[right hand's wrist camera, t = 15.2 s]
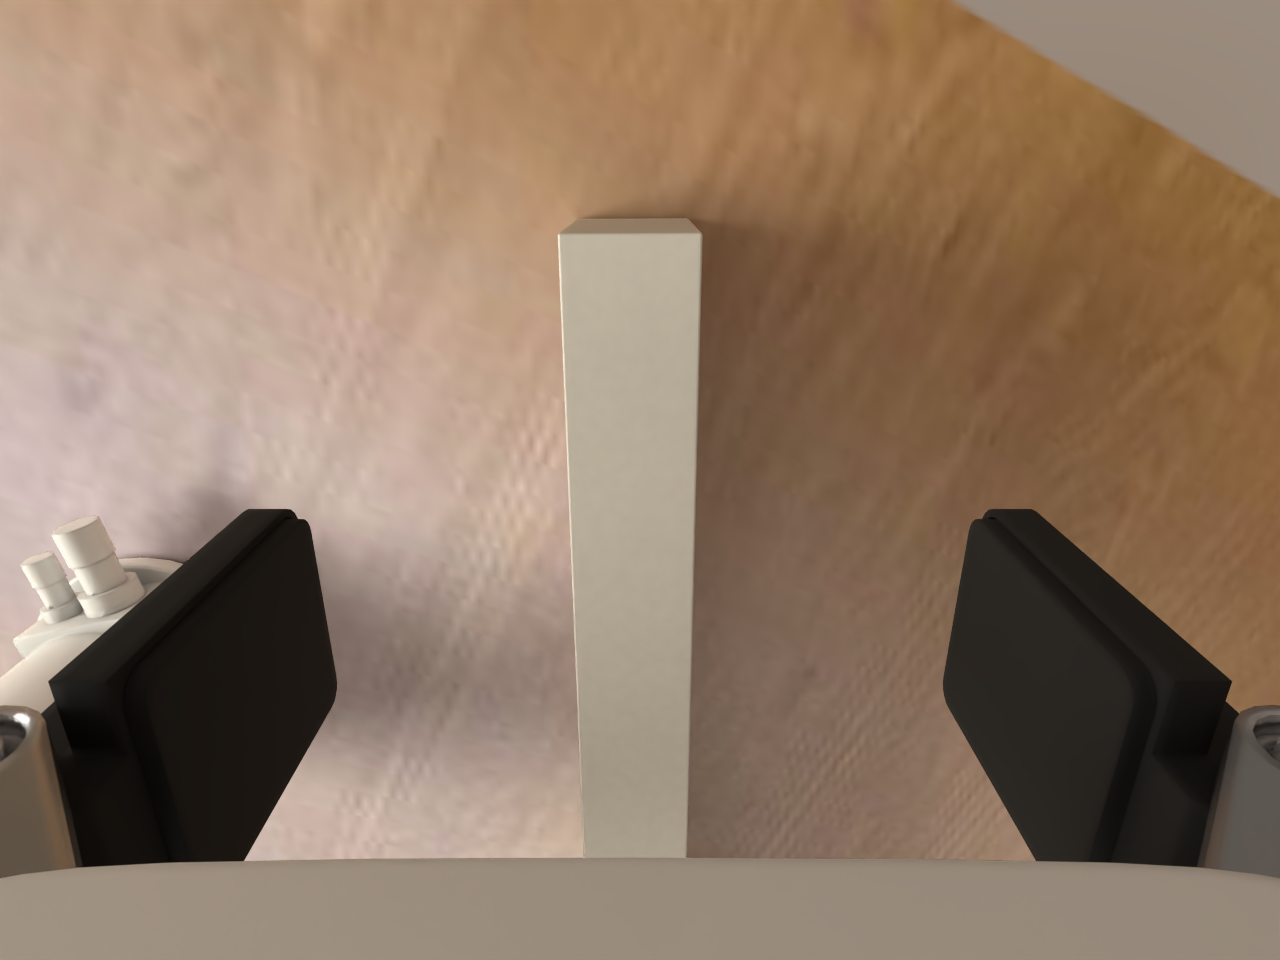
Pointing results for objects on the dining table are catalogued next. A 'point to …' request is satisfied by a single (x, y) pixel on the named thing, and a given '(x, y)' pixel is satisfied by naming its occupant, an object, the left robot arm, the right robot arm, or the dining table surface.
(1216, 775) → the right robot arm
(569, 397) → the beam
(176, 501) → the dining table surface
